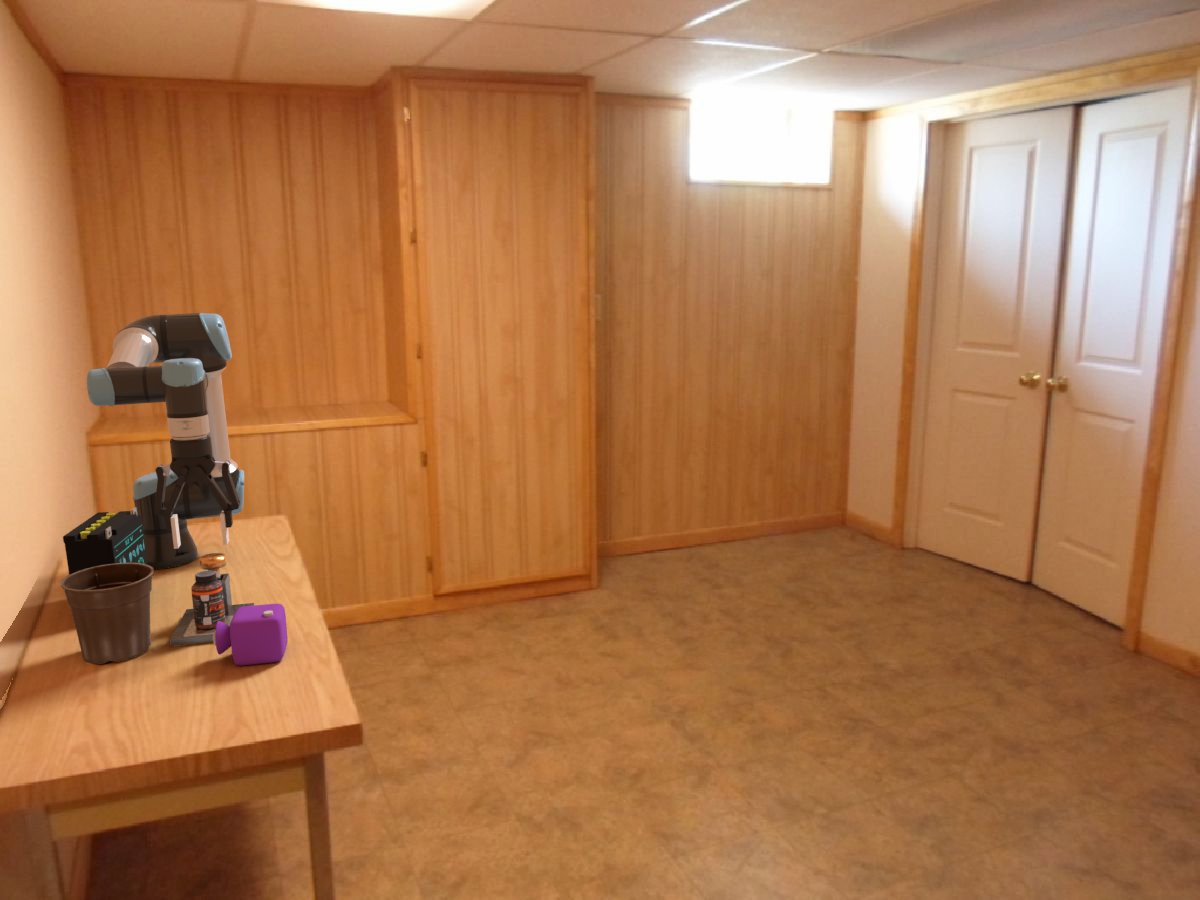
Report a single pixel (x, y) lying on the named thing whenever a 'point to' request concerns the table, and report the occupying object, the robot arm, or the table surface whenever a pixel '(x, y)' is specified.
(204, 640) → the base
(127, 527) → the battery
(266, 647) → the toy camera
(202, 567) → the plunger
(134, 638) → the plant pot
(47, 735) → the table surface
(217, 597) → the supplement bottle
